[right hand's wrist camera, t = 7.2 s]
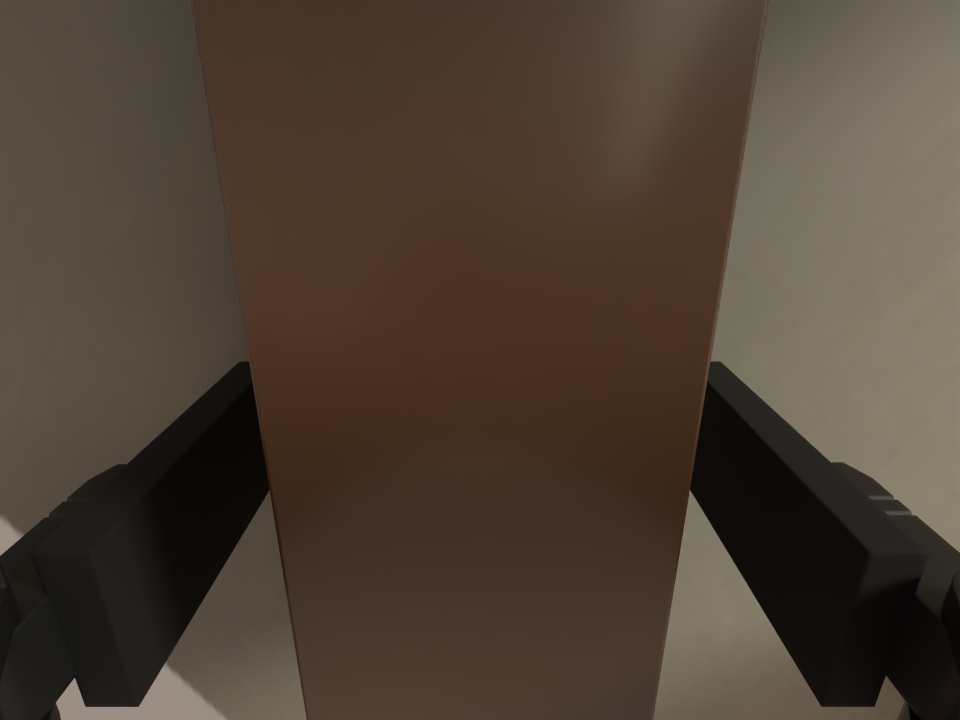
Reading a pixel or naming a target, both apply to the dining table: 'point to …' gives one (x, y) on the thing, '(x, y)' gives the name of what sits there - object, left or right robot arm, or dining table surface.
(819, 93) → the dining table surface
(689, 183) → the walnut plank
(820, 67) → the dining table surface
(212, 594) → the dining table surface
